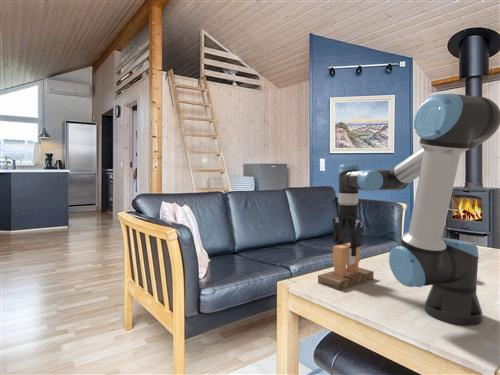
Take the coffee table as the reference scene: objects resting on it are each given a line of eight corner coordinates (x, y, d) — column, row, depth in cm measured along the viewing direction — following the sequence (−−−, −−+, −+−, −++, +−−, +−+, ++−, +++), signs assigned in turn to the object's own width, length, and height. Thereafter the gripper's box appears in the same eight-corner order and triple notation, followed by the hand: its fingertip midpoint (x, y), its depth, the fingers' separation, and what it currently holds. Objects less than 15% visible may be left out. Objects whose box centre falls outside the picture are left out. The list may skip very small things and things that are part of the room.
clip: (340, 279, 130) (341, 248, 130) (332, 276, 134) (333, 246, 133) (359, 273, 138) (360, 244, 137) (351, 271, 141) (352, 242, 140)
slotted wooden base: (338, 290, 125) (339, 282, 125) (317, 282, 133) (318, 275, 133) (373, 278, 138) (373, 271, 138) (352, 272, 146) (352, 265, 146)
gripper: (373, 205, 129) (371, 266, 131) (336, 201, 143) (335, 256, 144) (361, 206, 125) (359, 269, 126) (324, 202, 138) (323, 259, 140)
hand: (346, 262), depth 135 cm, fingers closed on clip, 4 cm apart
